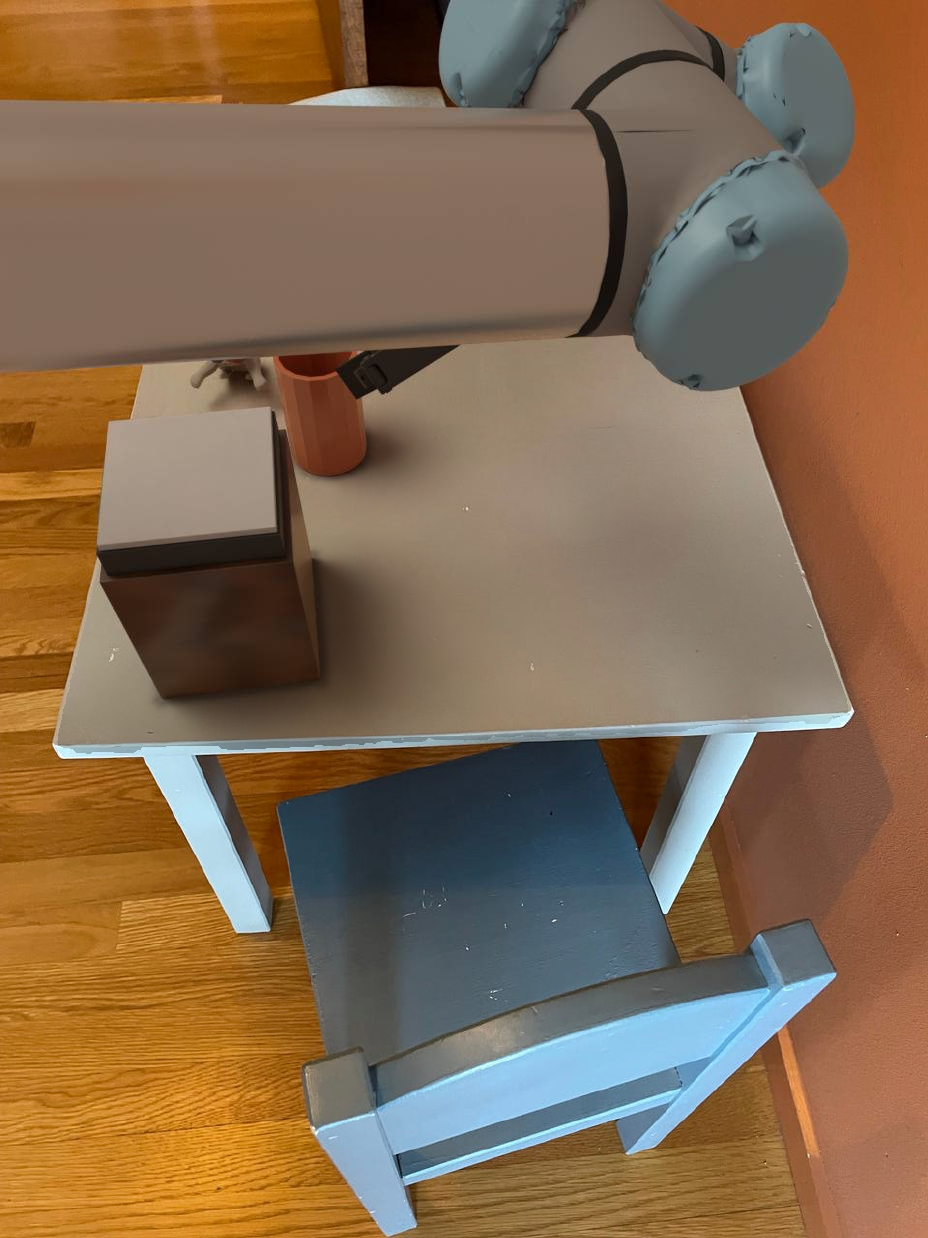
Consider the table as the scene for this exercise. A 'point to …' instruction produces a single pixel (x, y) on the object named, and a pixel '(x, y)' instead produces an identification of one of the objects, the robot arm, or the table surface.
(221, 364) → the toy
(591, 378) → the table surface
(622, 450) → the table surface
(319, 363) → the cup
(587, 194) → the robot arm
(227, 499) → the scale
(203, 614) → the stand
